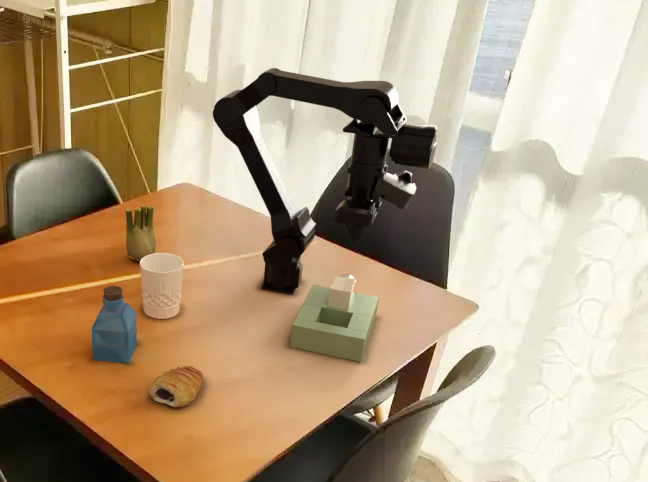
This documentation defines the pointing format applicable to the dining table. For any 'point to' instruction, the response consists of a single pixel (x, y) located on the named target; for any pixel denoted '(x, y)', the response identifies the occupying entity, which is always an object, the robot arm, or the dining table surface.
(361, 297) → the stand
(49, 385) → the dining table surface
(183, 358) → the dining table surface
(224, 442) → the dining table surface
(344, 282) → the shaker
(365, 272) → the dining table surface
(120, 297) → the perfume bottle
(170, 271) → the white cup
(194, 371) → the pastry
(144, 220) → the fennel bulb
